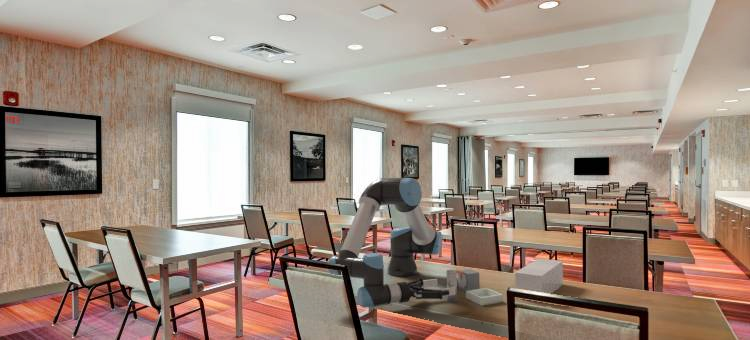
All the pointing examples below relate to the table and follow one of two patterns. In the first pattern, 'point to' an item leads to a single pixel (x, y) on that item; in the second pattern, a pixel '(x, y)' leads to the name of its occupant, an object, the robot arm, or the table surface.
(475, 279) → the crank housing
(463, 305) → the table surface
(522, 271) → the light grey block
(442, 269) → the table surface
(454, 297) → the stop pin
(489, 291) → the parts tray
